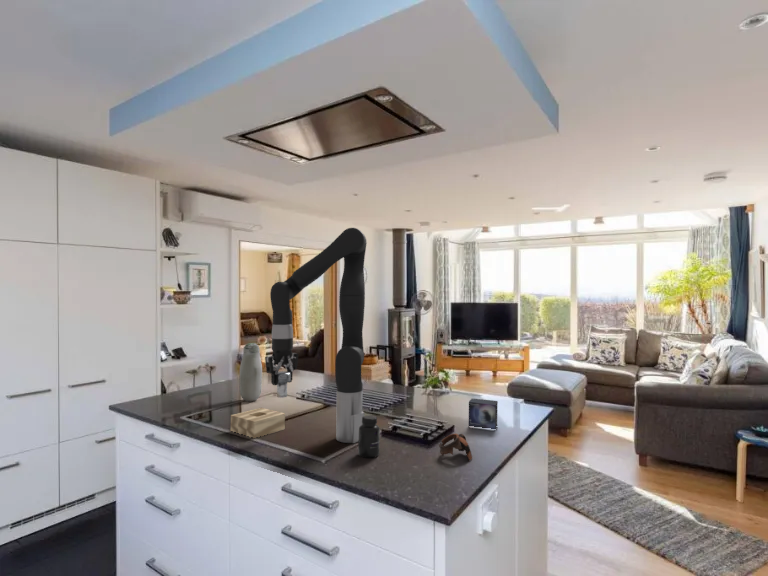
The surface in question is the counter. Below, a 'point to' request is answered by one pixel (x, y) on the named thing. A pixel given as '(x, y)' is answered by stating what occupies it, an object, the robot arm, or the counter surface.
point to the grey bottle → (251, 373)
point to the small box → (483, 413)
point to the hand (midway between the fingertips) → (282, 383)
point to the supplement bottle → (369, 437)
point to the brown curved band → (455, 445)
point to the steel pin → (283, 383)
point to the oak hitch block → (257, 422)
